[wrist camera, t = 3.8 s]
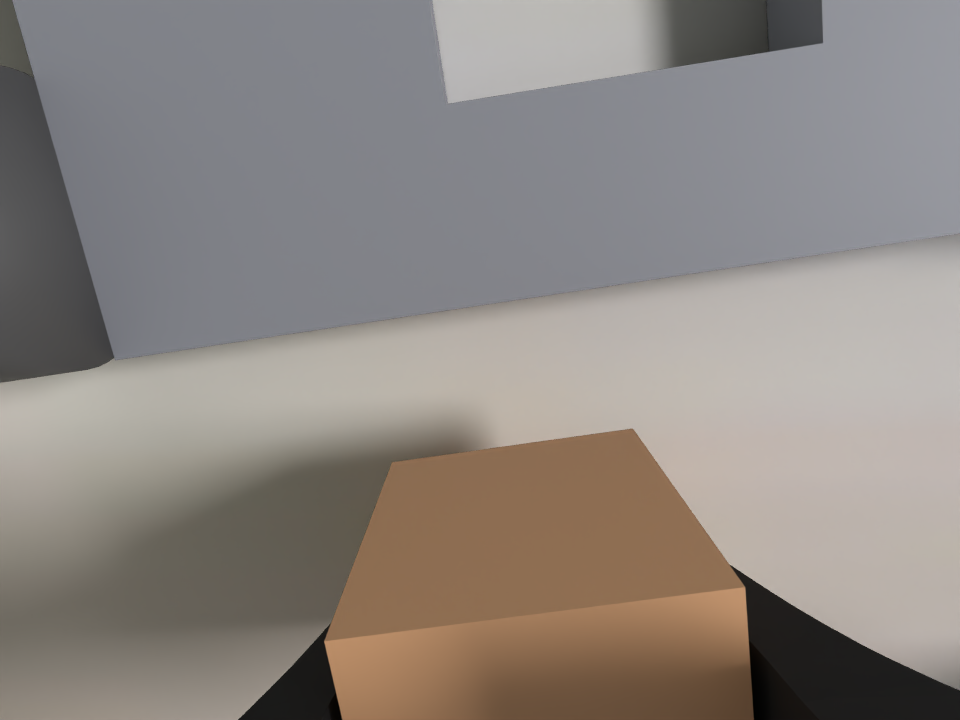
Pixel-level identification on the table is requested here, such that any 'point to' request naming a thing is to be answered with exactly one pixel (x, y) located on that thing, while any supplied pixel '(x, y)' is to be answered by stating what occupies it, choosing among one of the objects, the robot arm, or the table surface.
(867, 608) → the table surface
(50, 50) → the chassis
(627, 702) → the block
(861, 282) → the table surface
